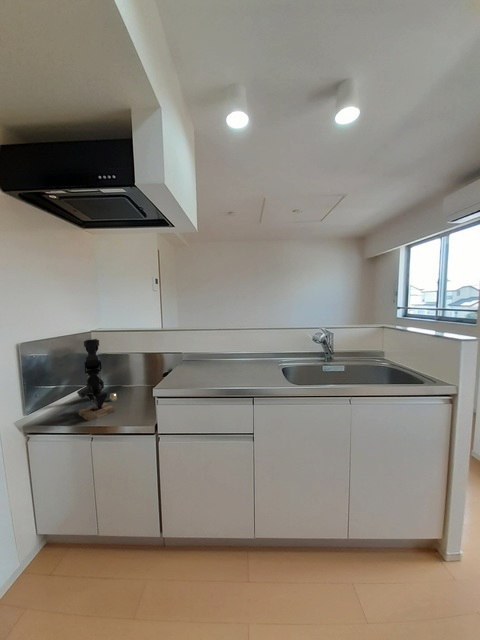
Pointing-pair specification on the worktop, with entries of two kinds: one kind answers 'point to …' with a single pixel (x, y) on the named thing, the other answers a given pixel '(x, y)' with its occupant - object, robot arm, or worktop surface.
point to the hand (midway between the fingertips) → (96, 407)
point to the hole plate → (95, 412)
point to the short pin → (113, 397)
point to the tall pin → (94, 405)
